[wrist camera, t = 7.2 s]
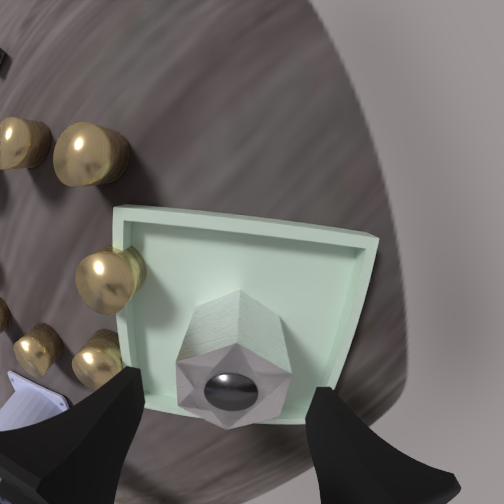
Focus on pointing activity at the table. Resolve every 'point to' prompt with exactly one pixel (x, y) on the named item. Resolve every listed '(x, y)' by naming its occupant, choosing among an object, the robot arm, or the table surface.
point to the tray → (248, 280)
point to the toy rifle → (2, 55)
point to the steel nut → (233, 362)
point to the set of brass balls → (90, 268)
